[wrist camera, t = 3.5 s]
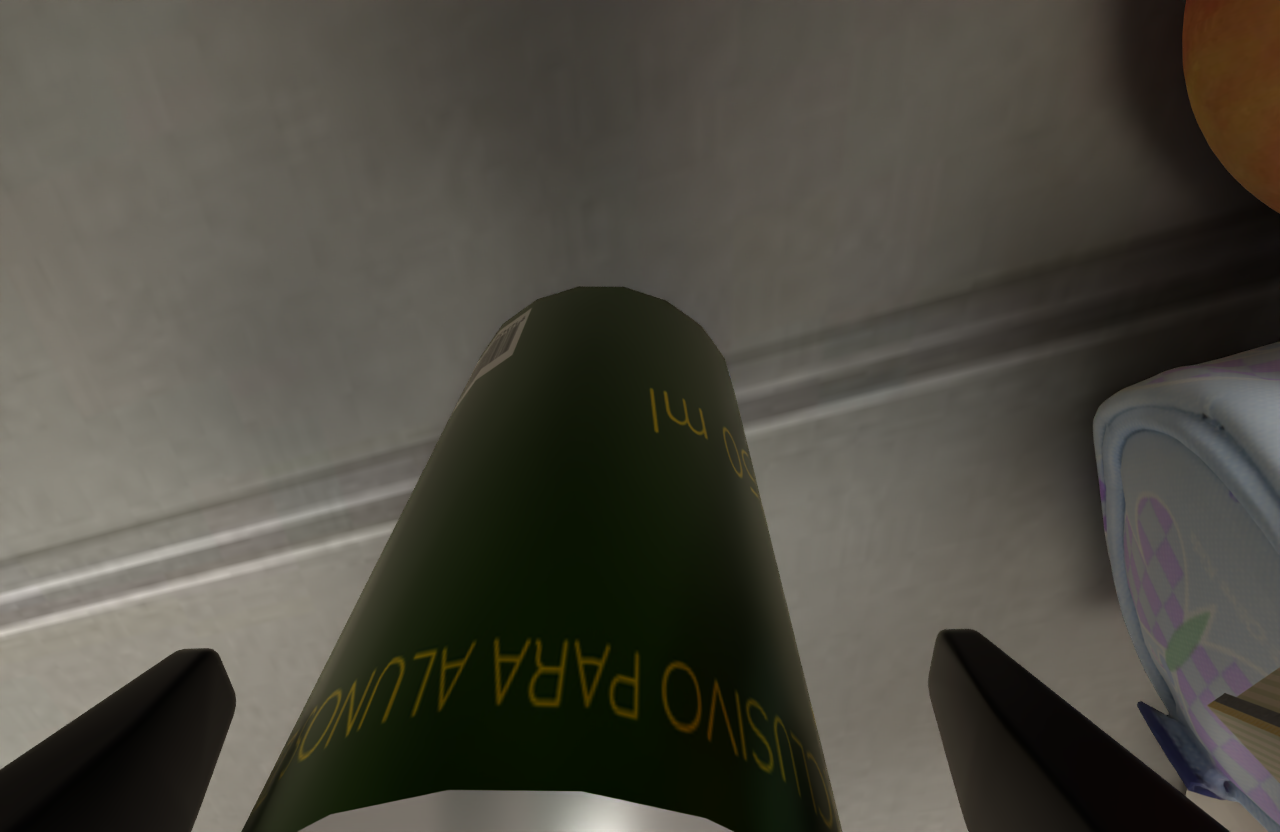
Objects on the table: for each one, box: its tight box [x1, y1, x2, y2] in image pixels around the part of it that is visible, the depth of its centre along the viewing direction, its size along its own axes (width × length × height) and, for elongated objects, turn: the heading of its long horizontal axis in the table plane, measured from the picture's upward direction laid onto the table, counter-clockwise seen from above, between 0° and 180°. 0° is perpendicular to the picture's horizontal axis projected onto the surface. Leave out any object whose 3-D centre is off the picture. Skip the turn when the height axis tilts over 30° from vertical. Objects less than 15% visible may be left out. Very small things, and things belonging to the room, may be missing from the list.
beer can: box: [242, 287, 842, 832], centre depth 10 cm, size 5×5×12 cm
